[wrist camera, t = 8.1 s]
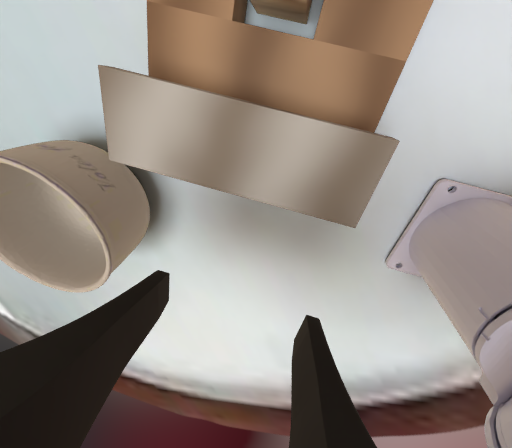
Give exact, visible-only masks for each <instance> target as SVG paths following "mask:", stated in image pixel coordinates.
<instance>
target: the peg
mask: <svg viewBox="0 0 512 448" xmlns="http://www.w3.org/2000/svg"><path fill="white" fill-rule="evenodd" d="M250 2H251V3H252V5H253V7H254V8H255V10H256V12H257V13H259V14H263V15H267V16H272V17H276V18H281V19H285V20H290V21H294V22H298V23H303V24H307V20H308V16H309V12H310V8H311V4H312V0H250Z"/></svg>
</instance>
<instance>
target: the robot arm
mask: <svg viewBox="0 0 512 448" xmlns="http://www.w3.org/2000/svg"><path fill="white" fill-rule="evenodd" d="M451 186H454V188H453V189H452V190H451V191H448V188H449V187H451ZM385 262H386V265H387V266H388V267H389V268H391V269H395V270H398V271H402V272H406V273H409V274H413V275H416V276H420V277H423V279H424V280H425V282H426V283H427V285H428V287H429V288H430V290H431V291H432V293H433V294H434V296H435V297H436V299H437V301H438V302H439V304H440V305H441V307H442V308H443V310H444V311H445V313H446V314H447V316H448V318H449V319H450V321H451V322H452V324H453V325H454V327H455V328H456V330H457V332H458V333H459V335H460V336H461V338H462V339H463V341H464V342H465V344H466V346H467V347H468V349H469V350H470V352H471V353H472V355H473V356H474V358H475V360H476V361H477V363H478V364H479V366H480V368H481V370H482V376H481V378H480V379H479V382H480V384H481V385H482V387H483V389H484V390H485V392H486V394H487V395H488V397H489V399H490V400H491V402H492V403H493V405H494V406H493V407H492V408H491V409H490V411H489V413H488V414H487V416H486V421H485V438H486V442H487V446H488V448H512V196H509V195H506V194H502V193H498V192H494V191H490V190H486V189H482V188H479V187H475V186H471V185H467V184H463V183H459V182H455V181H452V180H448V179H442V180H439V181H438V182H437V183H436V184H435V185H434V187H433V188H432V190H431V191H430V193H429V194H428V196H427V198H426V199H425V201H424V202H423V204H422V205H421V207H420V208H419V210H418V211H417V213H416V214H415V216H414V218H413V219H412V221H411V222H410V224H409V225H408V227H407V228H406V230H405V231H404V233H403V235H402V236H401V238H400V239H399V241H398V242H397V244H396V245H395V247H394V248H393V250H392V252H391V253H390V255H389V256H388V258H387V259H386V261H385ZM398 263H401V264H400V265H396V264H398ZM168 301H169V273H166V272H163V271H160V270H157V271H156V272H154V273H153V274H151V275H150V276H148V277H147V278H145V279H144V280H142V281H141V282H139V283H138V284H136V285H135V286H133V287H132V288H130V289H129V290H127V291H126V292H124V293H122V294H121V295H119V296H118V297H116V298H114V299H113V300H111V301H109V302H108V303H106V304H104V305H102V306H101V307H99V308H97V309H96V310H94V311H92V312H90V313H88V314H86V315H84V316H83V317H81V318H79V319H77V320H75V321H73V322H71V323H69V324H67V325H64V326H62V327H60V328H58V329H56V330H54V331H52V332H49V333H47V334H45V335H43V336H40V337H38V338H36V339H33V340H31V341H28V342H26V343H23V344H21V345H18V346H16V347H13V348H11V349H8V350H5V351H3V352H0V448H80V447H81V445H82V443H83V441H84V439H85V437H86V435H87V433H88V432H89V430H90V428H91V426H92V424H93V422H94V421H95V419H96V417H97V415H98V413H99V411H100V410H101V408H102V406H103V404H104V403H105V401H106V399H107V397H108V395H109V394H110V392H111V390H112V388H113V387H114V385H115V383H116V382H117V380H118V378H119V377H120V375H121V373H122V371H123V370H124V368H125V367H126V365H127V364H128V362H129V361H130V359H131V358H132V356H133V355H134V353H135V352H136V351H137V349H138V348H139V346H140V345H141V343H142V342H143V341H144V339H145V338H146V336H147V335H148V334H149V332H150V331H151V329H152V328H153V326H154V325H155V323H156V322H157V321H158V319H159V317H160V316H161V314H162V312H163V310H164V308H165V306H166V305H167V303H168ZM289 448H377V447H376V445H375V444H374V442H373V440H372V438H371V437H370V435H369V433H368V431H367V429H366V428H365V426H364V424H363V422H362V420H361V418H360V416H359V414H358V412H357V411H356V409H355V407H354V405H353V403H352V401H351V399H350V396H349V394H348V392H347V390H346V388H345V386H344V383H343V381H342V379H341V377H340V374H339V372H338V370H337V367H336V365H335V362H334V359H333V357H332V354H331V352H330V349H329V346H328V344H327V341H326V338H325V335H324V332H323V329H322V326H321V323H320V320H319V318H315V317H312V316H309V315H306V317H305V319H304V321H303V323H302V325H301V327H300V329H299V331H298V333H297V335H296V337H295V339H294V346H293V355H292V408H291V431H290V442H289Z"/></svg>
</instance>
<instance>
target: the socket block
mask: <svg viewBox="0 0 512 448" xmlns="http://www.w3.org/2000/svg"><path fill="white" fill-rule="evenodd" d="M247 1H248V0H147V28H148V70H149V76H147V75H143V74H139V73H135V72H131V71H127V70H123V69H119V68H115V67H109V66H102V65H98V69H99V77H100V86H101V94H102V103H103V111H104V120H105V129H106V137H107V146H108V154H109V160H111V161H115V162H118V163H122V164H125V165H129V166H133V167H136V168H140V169H144V170H147V171H151V172H154V173H158V174H162V175H165V176H169V177H172V178H176V179H180V180H183V181H187V182H190V183H194V184H198V185H201V186H205V187H209V188H212V189H216V190H219V191H223V192H227V193H230V194H234V195H237V196H241V197H245V198H248V199H252V200H255V201H259V202H263V203H266V204H270V205H273V206H277V207H281V208H284V209H288V210H292V211H295V212H299V213H302V214H306V215H310V216H313V217H317V218H320V219H324V220H328V221H331V222H335V223H338V224H342V225H346V226H349V227H353V228H355V227H356V225H357V223H358V222H359V220H360V218H361V216H362V214H363V212H364V210H365V208H366V206H367V204H368V202H369V200H370V198H371V196H372V194H373V192H374V190H375V188H376V186H377V184H378V182H379V181H380V179H381V177H382V175H383V173H384V171H385V169H386V167H387V165H388V163H389V161H390V159H391V157H392V155H393V153H394V151H395V149H396V147H397V145H398V143H399V141H398V140H396V139H394V138H392V137H388V136H384V135H380V134H376V133H374V132H375V129H376V127H377V125H378V123H379V121H380V118H381V116H382V114H383V112H384V109H385V107H386V105H387V103H388V101H389V98H390V96H391V94H392V92H393V89H394V87H395V85H396V83H397V81H398V78H399V76H400V74H401V72H402V69H403V67H404V65H405V63H406V60H407V58H408V56H409V54H410V52H411V49H412V47H413V45H414V43H415V40H416V38H417V36H418V34H419V32H420V29H421V27H422V25H423V23H424V20H425V18H426V16H427V14H428V11H429V9H430V7H431V5H432V3H433V0H324V2H323V6H322V10H321V13H320V17H319V21H318V24H317V28H316V32H315V36H314V39H309V38H304V37H300V36H296V35H291V34H287V33H283V32H279V31H274V30H270V29H266V28H261V27H257V26H253V25H249V24H244V22H245V15H246V8H247Z"/></svg>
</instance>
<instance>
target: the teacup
mask: <svg viewBox="0 0 512 448" xmlns="http://www.w3.org/2000/svg"><path fill="white" fill-rule="evenodd" d="M149 220H150V208H149V203H148V200H147V196H146V194H145V191H144V189H143V188H142V186H141V184H140V182H139V181H138V179H137V178H136V177H135V175H134V174H133V173H132V172H131V171H130V170H129V169H128V167H127V166H125V165H124V164H122V163H118V162H115V161H111V160H109V154H108V152H106V151H104V150H102V149H100V148H98V147H96V146H93V145H90V144H87V143H83V142H78V141H69V140H58V141H48V142H42V143H36V144H30V145H26V146H21V147H16V148H12V149H7V150H3V151H0V259H1V260H2V261H3V262H4V263H6V264H7V265H8V266H10V267H11V268H13V269H15V270H16V271H18V272H19V273H21V274H23V275H25V276H27V277H28V278H30V279H32V280H34V281H36V282H39V283H41V284H43V285H46V286H49V287H52V288H55V289H58V290H63V291H68V292H88V291H92V290H94V289H97V288H99V287H100V286H102V285H103V284H104V283H105V282H106V281H107V279H108V278H109V276H110V274H111V273H112V272H113V271H114V270H115V269H116V268H117V267H118V266H119V265H120V264H121V263H122V262H123V261H124V260H125V259H126V257H127V256H128V255H129V254H130V253H131V252H132V251H133V250H134V249H135V248H136V246H137V245H138V244H139V243H140V241H141V240H142V238H143V237H144V235H145V233H146V231H147V228H148V225H149Z"/></svg>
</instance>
